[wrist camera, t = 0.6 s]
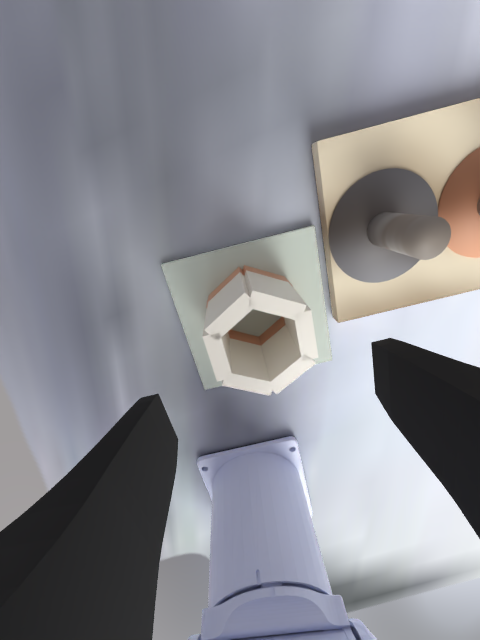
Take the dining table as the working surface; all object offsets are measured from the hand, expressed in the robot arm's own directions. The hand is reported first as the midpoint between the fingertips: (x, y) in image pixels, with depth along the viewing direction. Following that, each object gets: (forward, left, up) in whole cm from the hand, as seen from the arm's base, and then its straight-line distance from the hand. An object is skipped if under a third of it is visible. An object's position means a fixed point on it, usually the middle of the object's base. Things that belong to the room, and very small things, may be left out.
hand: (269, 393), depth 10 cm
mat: (-1, 0, -9) cm, 9 cm away
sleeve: (0, 0, -9) cm, 9 cm away
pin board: (+3, -11, -9) cm, 15 cm away
